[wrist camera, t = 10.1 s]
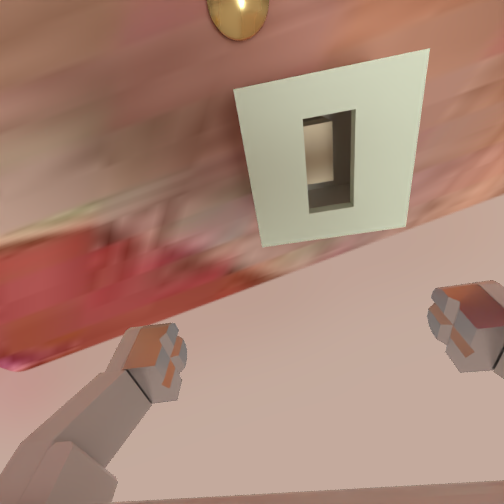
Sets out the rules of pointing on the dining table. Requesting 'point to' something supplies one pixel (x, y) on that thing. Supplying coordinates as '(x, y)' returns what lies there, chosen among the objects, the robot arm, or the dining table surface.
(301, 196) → the box
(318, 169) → the block
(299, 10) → the dining table surface
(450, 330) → the robot arm
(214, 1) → the brass disc
